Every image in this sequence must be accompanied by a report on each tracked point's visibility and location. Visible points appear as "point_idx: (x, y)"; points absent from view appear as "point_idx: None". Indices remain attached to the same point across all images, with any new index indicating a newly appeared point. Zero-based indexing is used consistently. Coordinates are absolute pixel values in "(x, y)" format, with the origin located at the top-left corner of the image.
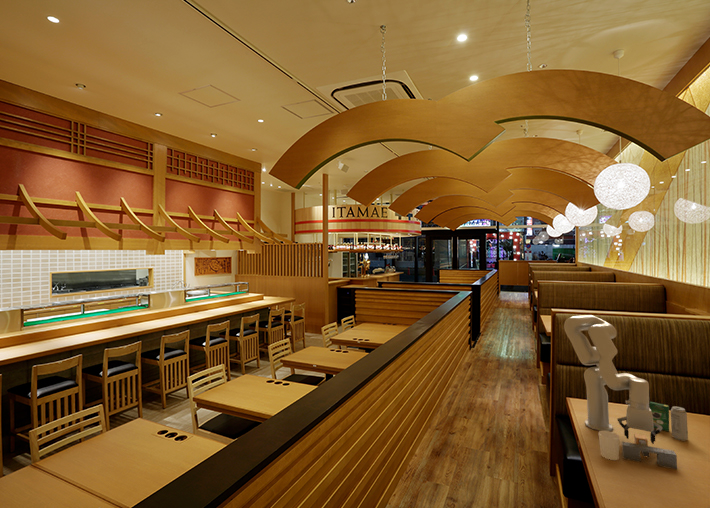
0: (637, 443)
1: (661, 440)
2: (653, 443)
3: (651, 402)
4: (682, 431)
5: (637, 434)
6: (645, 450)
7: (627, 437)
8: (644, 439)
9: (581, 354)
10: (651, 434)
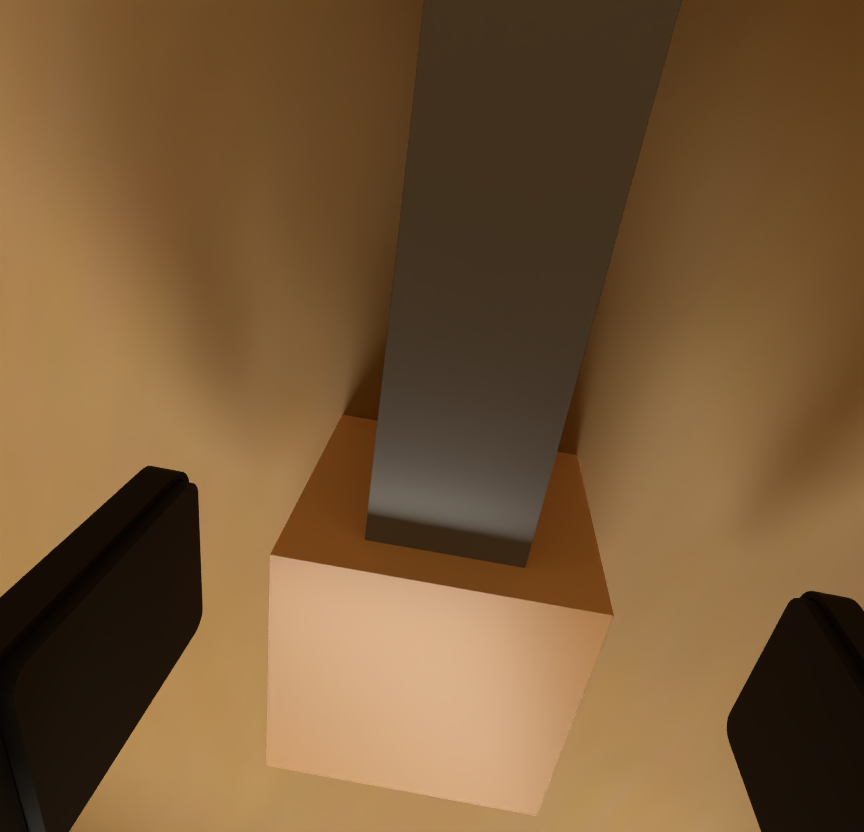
0: (555, 489)
1: None
2: (155, 467)
3: None
4: None
5: (460, 794)
6: None
7: (852, 621)
8: (360, 559)
9: None
10: (22, 759)
